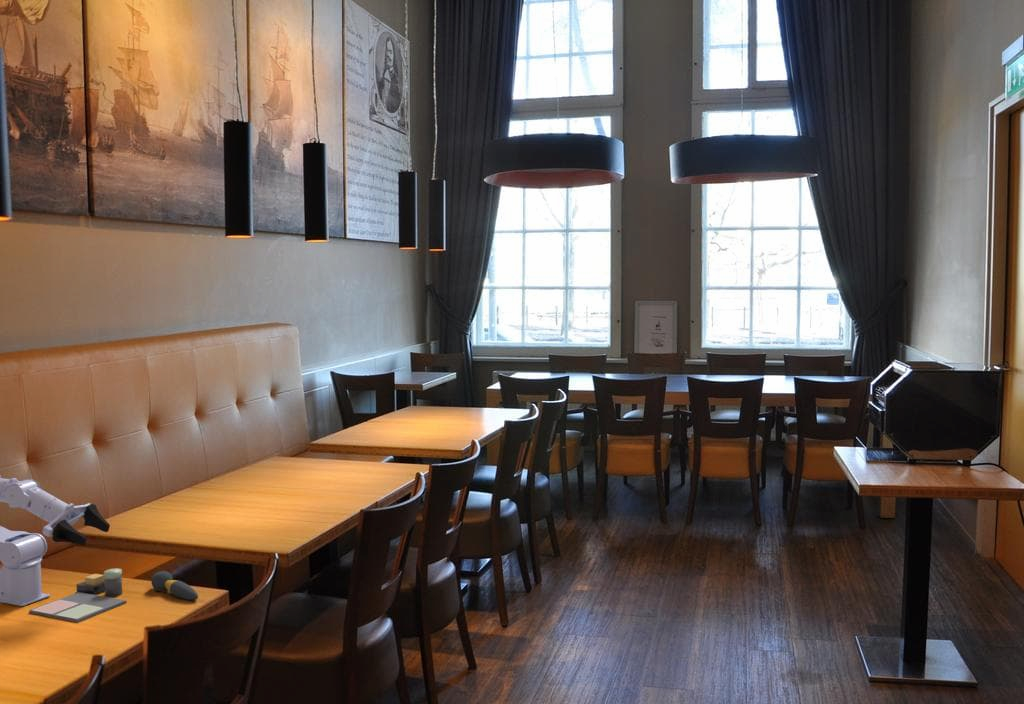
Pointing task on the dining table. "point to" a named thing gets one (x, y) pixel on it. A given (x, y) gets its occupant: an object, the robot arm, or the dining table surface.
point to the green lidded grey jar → (113, 582)
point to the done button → (94, 579)
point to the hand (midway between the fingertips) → (96, 534)
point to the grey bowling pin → (173, 586)
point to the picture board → (77, 607)
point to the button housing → (90, 588)
